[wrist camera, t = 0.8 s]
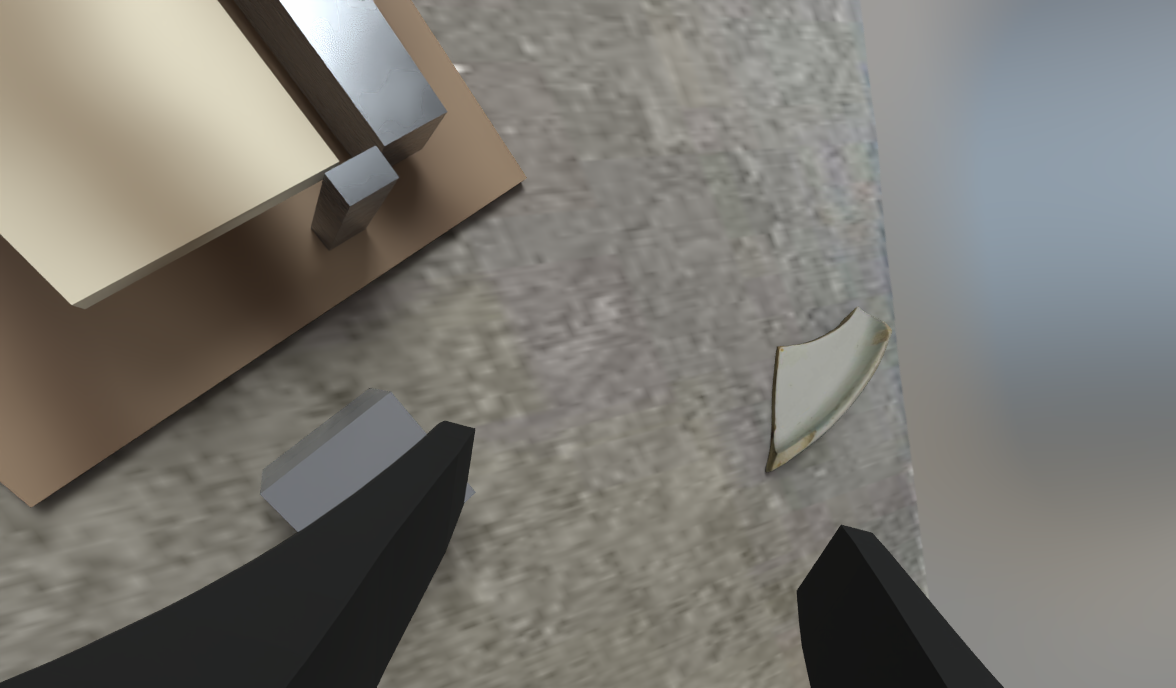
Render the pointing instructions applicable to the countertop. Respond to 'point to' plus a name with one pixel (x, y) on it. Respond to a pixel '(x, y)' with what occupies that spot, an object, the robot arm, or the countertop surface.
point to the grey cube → (340, 458)
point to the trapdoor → (182, 123)
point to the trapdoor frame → (231, 282)
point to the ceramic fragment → (822, 382)
